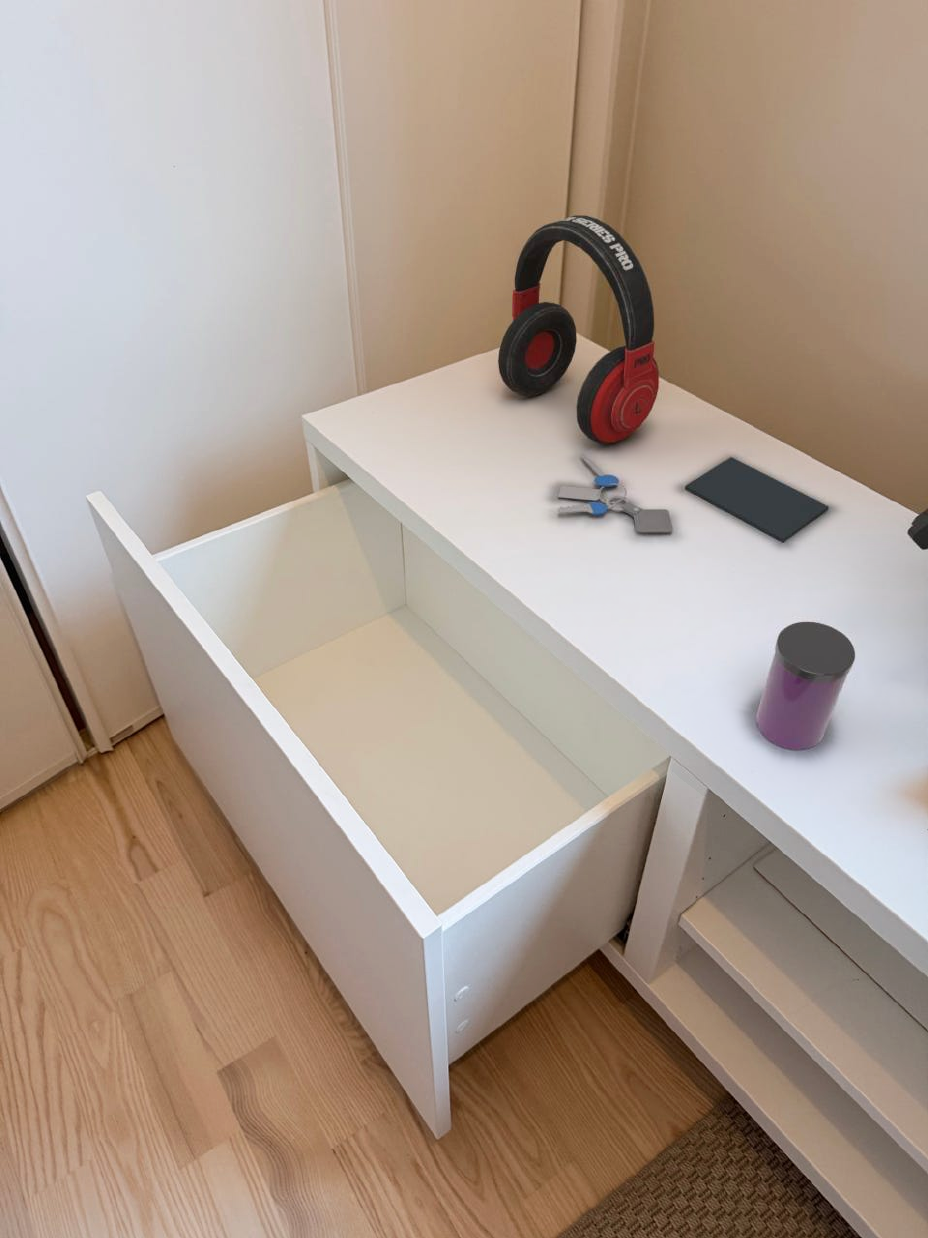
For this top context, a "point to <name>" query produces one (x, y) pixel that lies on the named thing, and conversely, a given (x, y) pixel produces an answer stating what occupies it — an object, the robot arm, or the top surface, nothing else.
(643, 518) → the key chain
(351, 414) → the top surface
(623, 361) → the headphones
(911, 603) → the top surface
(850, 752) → the top surface
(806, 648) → the tin
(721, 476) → the mat
